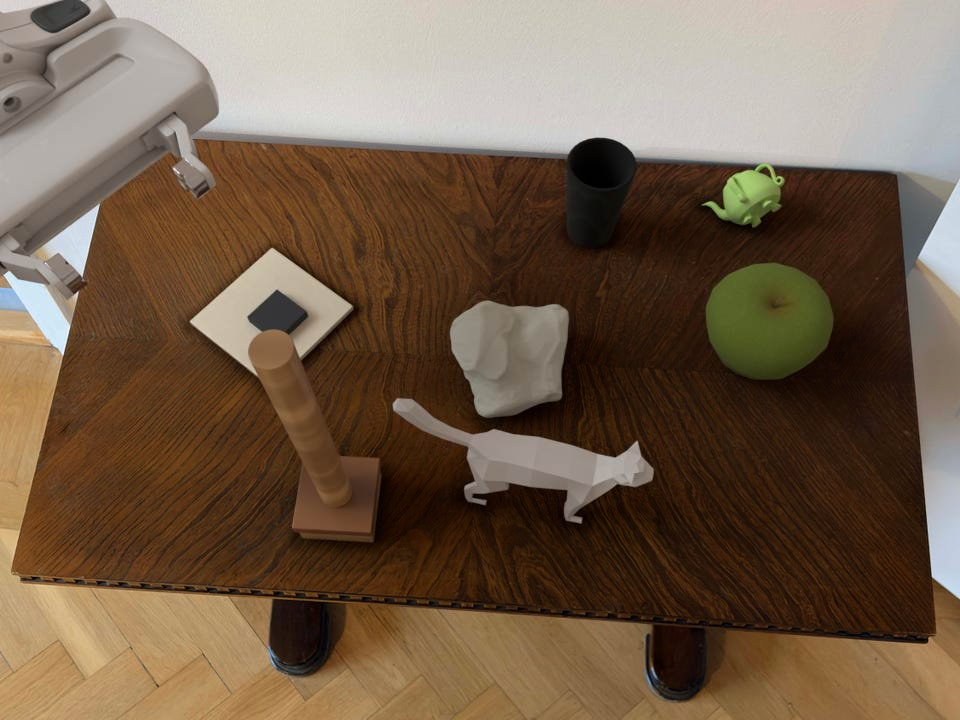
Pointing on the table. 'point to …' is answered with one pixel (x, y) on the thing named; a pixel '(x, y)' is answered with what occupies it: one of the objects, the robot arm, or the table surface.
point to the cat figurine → (534, 462)
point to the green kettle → (749, 196)
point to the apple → (768, 320)
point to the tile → (252, 288)
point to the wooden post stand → (316, 450)
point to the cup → (597, 189)
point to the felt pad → (278, 314)
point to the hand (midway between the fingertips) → (141, 235)
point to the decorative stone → (511, 355)
